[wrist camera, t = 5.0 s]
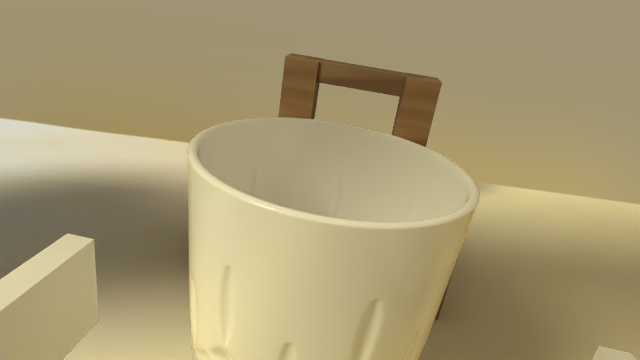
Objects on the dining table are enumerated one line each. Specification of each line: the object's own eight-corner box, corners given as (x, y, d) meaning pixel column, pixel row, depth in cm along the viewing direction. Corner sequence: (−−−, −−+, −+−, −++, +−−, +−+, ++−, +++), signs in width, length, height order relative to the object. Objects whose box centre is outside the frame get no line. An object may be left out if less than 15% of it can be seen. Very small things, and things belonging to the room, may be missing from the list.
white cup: (362, 595, 11) (470, 272, 7) (124, 454, 13) (112, 156, 10) (415, 378, 18) (484, 156, 14) (252, 311, 20) (275, 105, 16)
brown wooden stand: (437, 319, 22) (496, 131, 18) (201, 270, 22) (211, 80, 19) (414, 196, 36) (444, 79, 33) (272, 169, 37) (285, 52, 34)
